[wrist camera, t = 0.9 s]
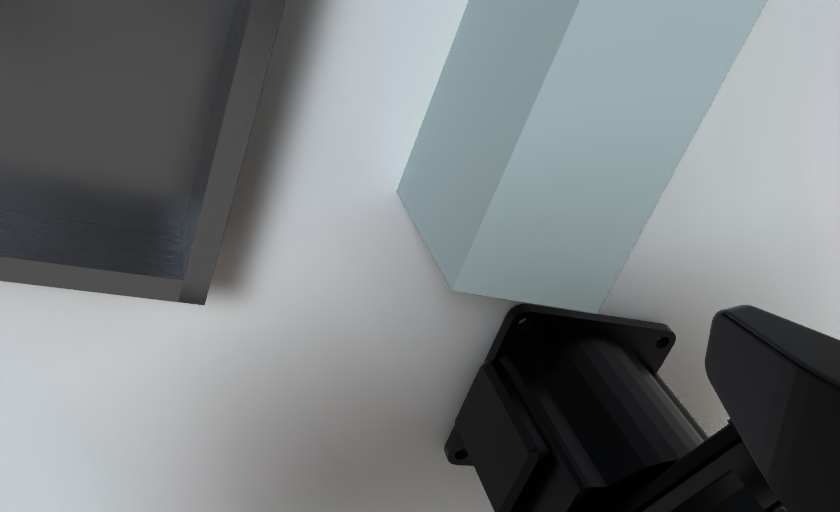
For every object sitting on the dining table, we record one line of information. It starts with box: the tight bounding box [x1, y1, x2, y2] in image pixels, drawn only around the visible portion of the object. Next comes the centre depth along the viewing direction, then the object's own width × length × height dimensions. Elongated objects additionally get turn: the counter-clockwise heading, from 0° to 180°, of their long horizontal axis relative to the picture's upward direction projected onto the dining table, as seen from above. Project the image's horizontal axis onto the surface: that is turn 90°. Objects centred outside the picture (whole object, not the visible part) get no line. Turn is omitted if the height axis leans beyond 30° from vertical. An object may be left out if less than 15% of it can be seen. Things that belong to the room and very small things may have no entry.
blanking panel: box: [396, 0, 768, 314], centre depth 18 cm, size 12×4×5 cm, turn 159°
